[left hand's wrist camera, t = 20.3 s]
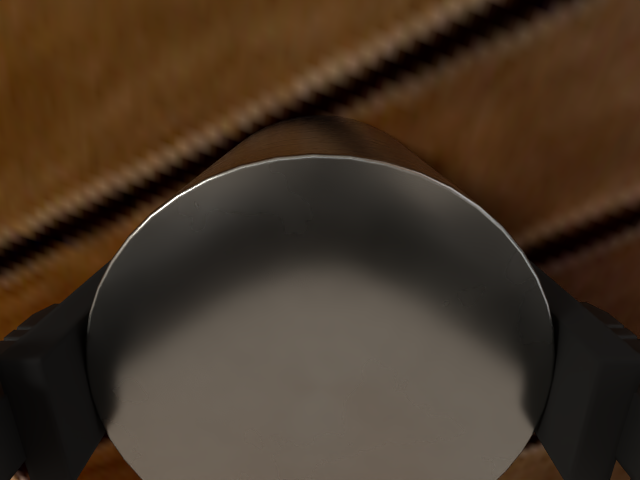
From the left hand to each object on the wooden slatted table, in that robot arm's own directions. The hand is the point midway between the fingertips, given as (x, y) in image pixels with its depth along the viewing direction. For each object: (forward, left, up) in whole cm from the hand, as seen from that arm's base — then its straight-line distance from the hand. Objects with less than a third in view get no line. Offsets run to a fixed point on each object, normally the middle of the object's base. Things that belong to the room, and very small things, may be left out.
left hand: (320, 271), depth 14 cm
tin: (0, 0, -3) cm, 3 cm away
